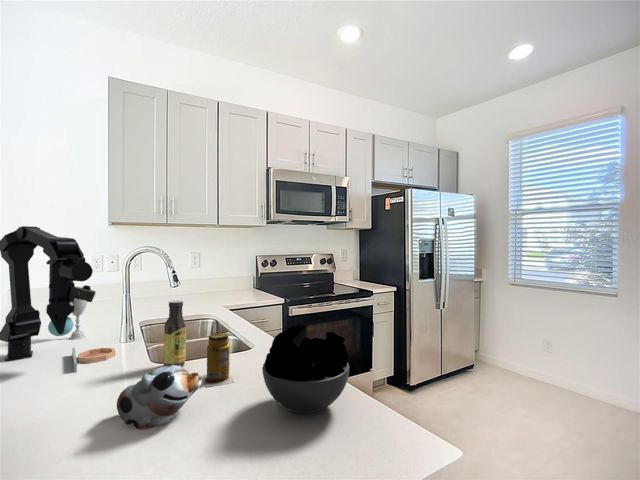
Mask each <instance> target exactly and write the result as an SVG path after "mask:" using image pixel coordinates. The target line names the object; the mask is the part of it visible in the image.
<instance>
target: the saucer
mask: <svg viewBox="0 0 640 480" xmlns="http://www.w3.org/2000/svg"><path fill="white" fill-rule="evenodd" d="M115 356H116V348H114V347H98V348H97V347H96V348H91V349H87V350H84V351H83V352H80V353H78V354H77V362H78V363H80V362H84V363H87V364H93V363H97V362H103V361H107V360H109V359H111V358H114V357H115ZM84 363H83V364H84Z"/></svg>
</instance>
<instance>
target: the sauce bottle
mask: <svg viewBox="0 0 640 480" xmlns="http://www.w3.org/2000/svg"><path fill="white" fill-rule="evenodd" d="M183 306H184V301H183V300H171V301H170V300H169V301H168V308H169V310H168V318H167V320H166V321H165V323H164V331H163V332H164V333H163V351H162V352H163V353H162V354H163V355H162V356H163V357H162V362H163V367H165V366H172V365H176V366H181V367H182V368H183V367H184V366H185V363H186V352H187V351H186V350H187V349H186V348H187V347H186V346H187V326H186V323H185V320H184V317H183Z"/></svg>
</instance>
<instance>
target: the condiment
mask: <svg viewBox="0 0 640 480" xmlns="http://www.w3.org/2000/svg"><path fill="white" fill-rule="evenodd" d="M206 354H207V355H206V373H205V374H202V377H203V380H204V381H203V382H204V384H205V387H213V386H220V385H226V384H230V383H232V384H233V383H235V381H234V378H233V377H232V375H231V373H230V344H229V335H228V334H227V333H223V332H217V333H212V334H210V335H209V336H208V345H207V347H206Z"/></svg>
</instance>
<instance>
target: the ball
mask: <svg viewBox="0 0 640 480" xmlns="http://www.w3.org/2000/svg"><path fill="white" fill-rule="evenodd" d="M73 327H74V321H73V319H72V318H71V317H69V316H68V317H67V320H66V324H65V328H64V332H63V334H58V332H57V330H56V328H55V327H54V325H53V323H52V321H51V320H50V321H49V323H48V326H47V329H48V332H49V333H50V334H51V335H53V336H56V337H62V336H66V335H67V334H69V333H70V332H71V331H72V330H73Z"/></svg>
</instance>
